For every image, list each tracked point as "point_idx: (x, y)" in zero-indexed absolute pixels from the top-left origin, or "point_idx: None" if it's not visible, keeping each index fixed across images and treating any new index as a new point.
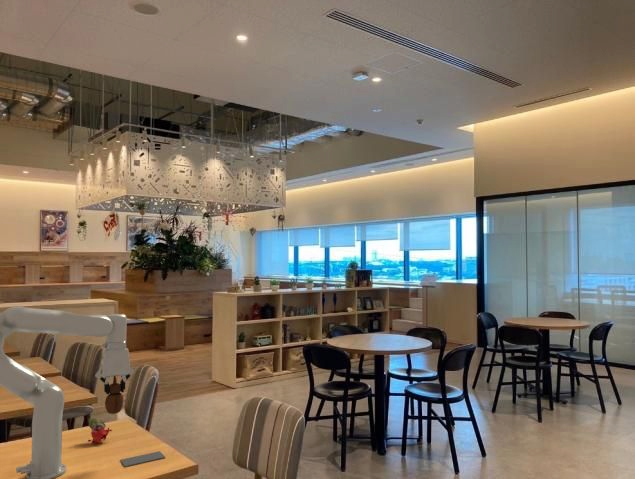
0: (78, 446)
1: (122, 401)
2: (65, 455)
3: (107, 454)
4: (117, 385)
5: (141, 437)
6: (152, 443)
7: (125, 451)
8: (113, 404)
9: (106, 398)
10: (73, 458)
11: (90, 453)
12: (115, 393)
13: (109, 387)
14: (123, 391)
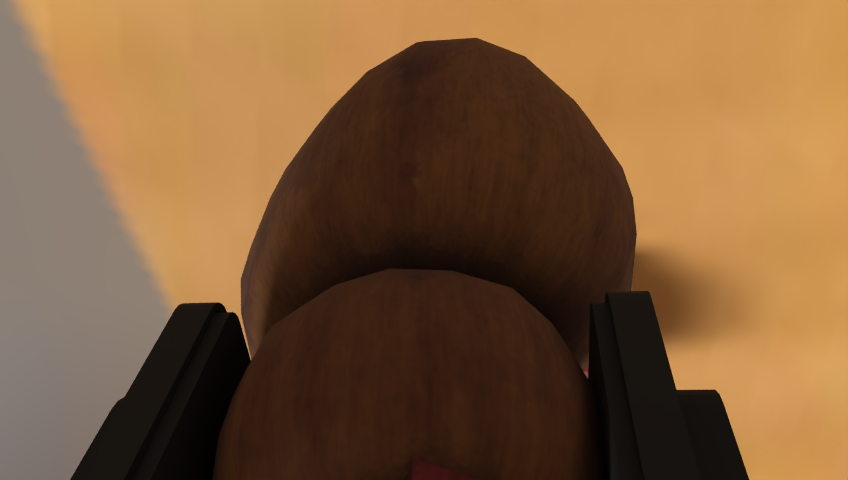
0: (681, 303)
1: (276, 187)
2: (823, 172)
3: (512, 18)
4: (313, 458)
5: (211, 259)
6: (120, 88)
7: (355, 12)
8: (484, 65)
9: (628, 269)
10: (791, 71)
11: (637, 116)
12: (412, 270)
13: (592, 477)
14: (182, 311)
